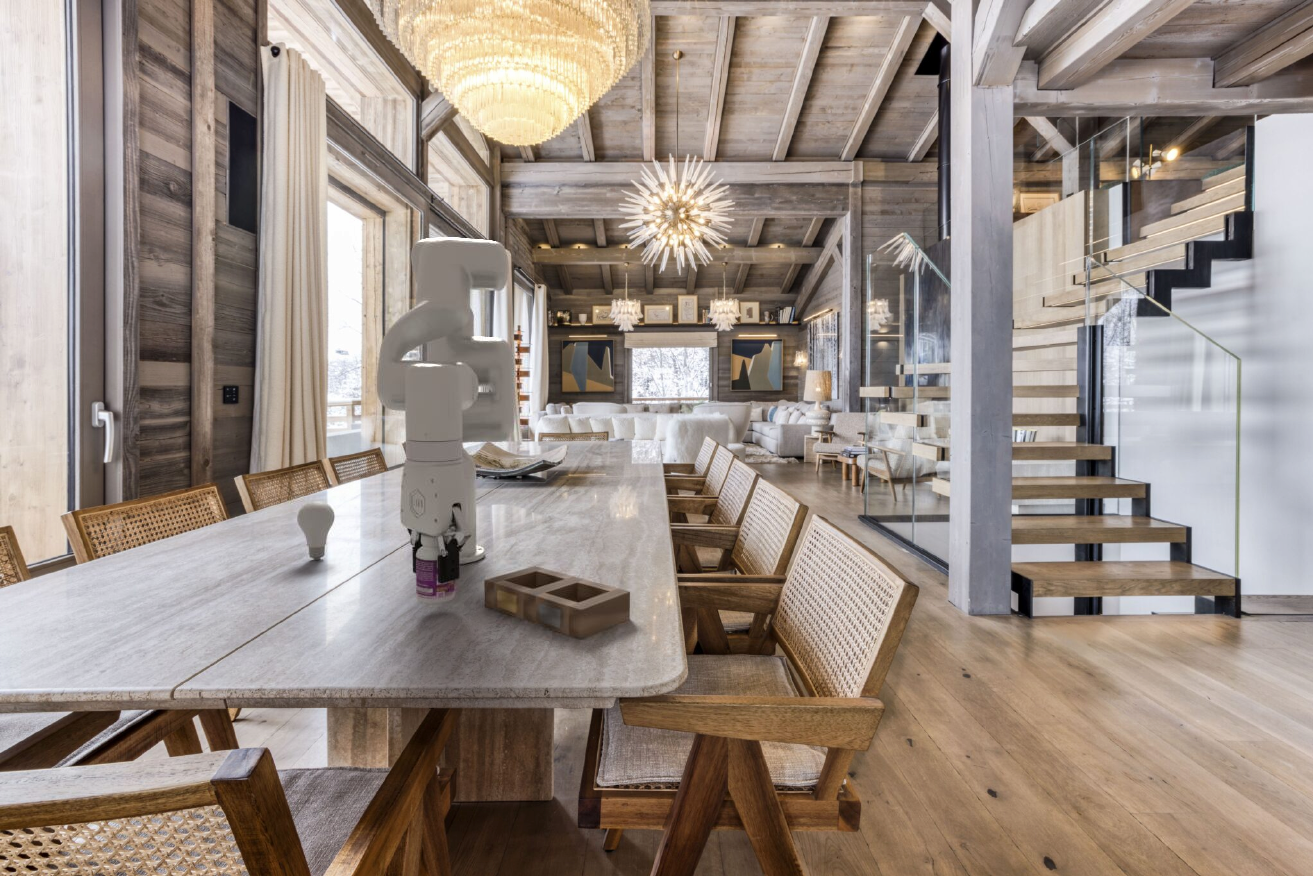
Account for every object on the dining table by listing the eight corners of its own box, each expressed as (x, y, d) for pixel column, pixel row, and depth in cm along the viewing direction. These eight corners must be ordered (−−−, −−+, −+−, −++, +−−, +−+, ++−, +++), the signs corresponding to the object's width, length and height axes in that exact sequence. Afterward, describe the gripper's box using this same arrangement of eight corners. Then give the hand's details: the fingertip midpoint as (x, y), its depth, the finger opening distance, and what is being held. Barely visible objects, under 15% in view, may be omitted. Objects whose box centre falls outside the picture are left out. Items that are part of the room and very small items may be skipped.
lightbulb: (324, 564, 117) (323, 504, 116) (291, 563, 117) (289, 503, 117) (341, 555, 123) (340, 498, 123) (309, 555, 124) (308, 498, 123)
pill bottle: (443, 607, 91) (442, 540, 89) (408, 603, 92) (408, 536, 90) (462, 593, 96) (462, 530, 95) (429, 590, 97) (429, 527, 96)
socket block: (482, 606, 97) (482, 580, 96) (534, 590, 105) (534, 566, 105) (578, 640, 85) (579, 610, 84) (629, 618, 93) (630, 591, 93)
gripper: (376, 447, 93) (379, 569, 96) (448, 461, 83) (449, 597, 85) (423, 443, 99) (424, 557, 101) (495, 455, 89) (495, 583, 91)
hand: (435, 574), depth 93 cm, fingers closed on pill bottle, 5 cm apart
